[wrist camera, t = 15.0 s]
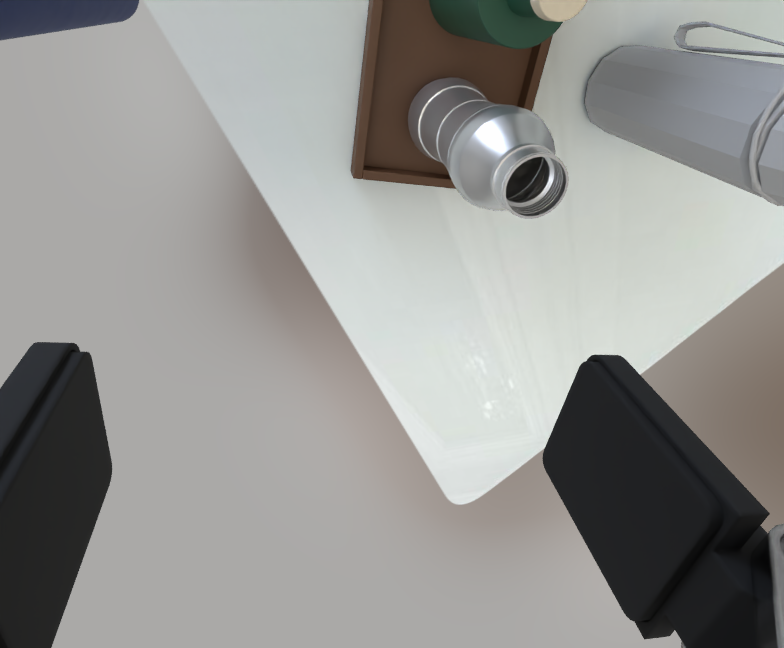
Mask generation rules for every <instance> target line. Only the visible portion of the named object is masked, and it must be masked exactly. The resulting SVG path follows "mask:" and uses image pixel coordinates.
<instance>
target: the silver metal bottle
mask: <svg viewBox="0 0 784 648" xmlns="http://www.w3.org/2000/svg"><path fill="white" fill-rule="evenodd" d="M408 126H409V132H410V135H411V138H412V140H413V142H414V144H415V146H416V147H417V148H418V149H419V150H420V152H422V153H423V154H424V155H426V156H428V157H430V158H432V159H434V160H436V161H438V162H441V163H443V164H444V165H445V167H446V168H447V170H448V172H449V175H450V177H451V180H452V182H453V184H454V186H455V187H456V189H457V190H458V192H459V193H460V194H461V195H462V197H463V198H464V199H465V200H467V201H468V202H470V203H471V204H473V205H475V206H477V207H480V208H484V209H489V210H494V211H504V210H509V211H510V212H511V213H512V214H514V215H516V216H518V217H521V218H531V219H532V218H537V217H540V216H543V215H545V214H547V213H549V212H550V211H552V210H553V209H554V208H555V207H556V206H557V205H558V204H559V203H560V202H561V200H562V199H563V197H564V195H565V193H566V191H567V187H568V172H567V169H566V167H565V165H564V164H563V162H562V161H561V160H560V159H559V158H558V157H556V156H555V146H554V141H553V139H552V136H551V133H550V131H549V129H548V128H547V126H546V125H545V123H544V121H543V120H542V119H541V118H540V117H539V116H537V115H536V114H535V113H533V112H531V111H530V110H528V109H524V108H521V107H517V106H514V105H504V104H495V103H492V102H489V101H488V100H487V99H486V97H485V96H484V94H483V93H482V92H481V91H480V90H479V89H478V88H477V87H476V86H475V85H474V84H472V83H471V82H469V81H467V80H464V79H461V78H452V77H450V78H443V79H438V80H435V81H432V82H430V83H429V84H427V85H426V86H424V87H423V88H422V89H421V90H420V91H419V92H418V93H417V95H416V96H415V97H414V99H413V101H412V103H411V105H410V109H409V113H408Z"/></svg>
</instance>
